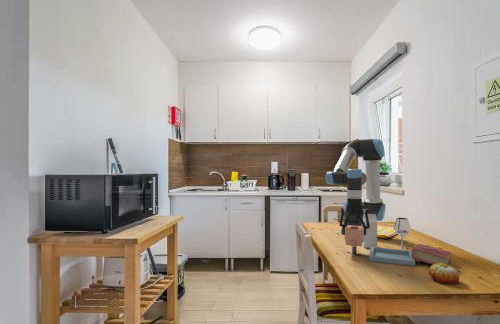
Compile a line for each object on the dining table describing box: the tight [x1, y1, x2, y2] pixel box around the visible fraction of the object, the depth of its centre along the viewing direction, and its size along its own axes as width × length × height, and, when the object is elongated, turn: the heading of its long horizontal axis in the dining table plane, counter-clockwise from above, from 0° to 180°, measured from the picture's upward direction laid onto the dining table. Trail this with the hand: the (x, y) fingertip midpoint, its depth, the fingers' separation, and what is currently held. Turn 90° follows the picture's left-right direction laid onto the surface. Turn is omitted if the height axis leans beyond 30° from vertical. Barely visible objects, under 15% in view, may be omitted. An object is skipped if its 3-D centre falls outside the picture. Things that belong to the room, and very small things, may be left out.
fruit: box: [428, 263, 460, 285], centre depth 132 cm, size 11×10×8 cm
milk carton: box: [362, 214, 378, 249], centre depth 186 cm, size 7×7×19 cm
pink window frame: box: [345, 225, 363, 248], centre depth 169 cm, size 14×8×8 cm, turn 158°
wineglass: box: [393, 217, 412, 250], centre depth 177 cm, size 8×8×18 cm
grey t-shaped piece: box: [351, 246, 358, 256], centre depth 170 cm, size 5×2×11 cm, turn 158°
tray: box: [369, 246, 416, 267], centre depth 163 cm, size 20×20×2 cm
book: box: [411, 243, 453, 266], centre depth 156 cm, size 14×15×5 cm
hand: (354, 240), depth 170 cm, fingers closed on pink window frame, 8 cm apart
